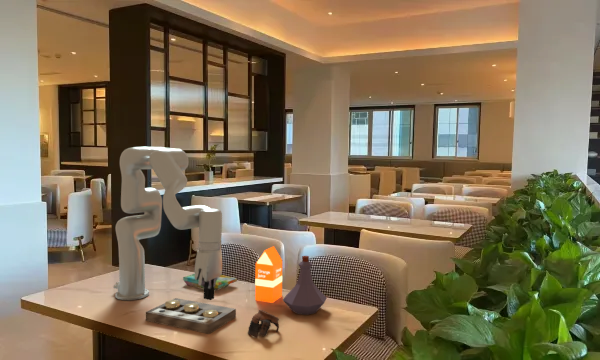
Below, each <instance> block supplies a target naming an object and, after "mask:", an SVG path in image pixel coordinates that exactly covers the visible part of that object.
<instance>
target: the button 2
mask: <svg viewBox="0 0 600 360" xmlns="http://www.w3.org/2000/svg"><path fill="white" fill-rule="evenodd" d="M216 316H218V311H217V310H206V311H204V312H203V317H208V318H215V317H216Z"/></svg>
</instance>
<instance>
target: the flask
mask: <svg viewBox="0 0 600 360" xmlns="http://www.w3.org/2000/svg"><path fill="white" fill-rule="evenodd" d="M309 259H310V256H309V255H302V256H301V261H300V262H299V263H298V267H299V268H300V270H299V276H298V279H297V281H296V284H295V285H294V287H292V289H291V290H289V291H288V293H287V294H286V295H285V297H283V298H282V301H283V302H284V303H285V305H286V306H287V307H288V308H289V309H290V310H291V311H292V312H294V313H295V314H297V315H306V316H308V315H312V314H316V313H317V312H318V311H319V310H320V309H321V308H322V306H323V305H324V304H325V302H326V300H327V296H326V295H325V294H324V293H323V292H322V290H320V289H319V288H318V287H317V286H316V285H315V283H314V281H313V280H314V279H313V276H312V274H311V272H312V271H311V268H312V265H313V263H312V262H311V261H309Z"/></svg>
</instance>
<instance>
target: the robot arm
mask: <svg viewBox="0 0 600 360" xmlns="http://www.w3.org/2000/svg"><path fill="white" fill-rule="evenodd" d="M189 164H190V163H189V156H188V155H187V153H186V152H185V151H184V150H183V149H181V148H172V147H164V146H133V147H128V148H125V149H124V150H123V151H122V152H121V154H120V157H119V169H120V174H121V189H120V190H121V191H120V193H121V195H120V207H121V210H122V212H124V213H126V214H136V215H130V216H125V217H122V218H120V219H119V220H118V221H117V222H116V224H115V234H116V235H115V236H116V239H117V245H118V263H119V264H118V270H119V271H118V273H119V274H118V275H119V276H118V277H119V279H118V281H117V282H116V283H115V284H114V285H113V286H112V287H113V288H114V289H116V290H117V291H116V293H115V294H114V295H115V298H116V299H117V300H121V301H134V300H135V301H137V300H141V299H143V298H146V297H148V296H149V295H150V290H149V289H147V288H146V273H145V272H146V271H145V270H146V269H145V267H146V265H145V260H146V259H145V249H144V247H143V245H142V244H141V242H140V240H143V239H150V238H154V237H156V236H158V235H159V234H160V231H161V227H162V212H164V213H165V215H166V217H167V219H168V220H169V222H170V224H171V225H172V226H173V227H174V228H175V229H177V230H180V231H181V230H188V229H189V230H190V229H194V228H195V229H196V228H198V246H197V247H198V249H197V252H196V257H195V262H194V263H195V264H194V274H195V280H199V282H198V285H200V286H203V288H204V289H203V299H205V300H207V301H211V300H213V299H215V291H214V287H215V285H216V280H217V279H218V278H219V277H220V275H223V274H222V273H223V254H222V231H223V227H222V226H223V213H222V210H221V209H217V208H213V207H212V208H211V207H209V206H207V205H204V204H203V205H202V204H198V205H189V206H181V204H180V203H179V201H178V200H177V197H176V194H178V193H179V192H182V191H183V189H185V187H186V186H187V185H188V178H187V176H186V175H185V174H184V172H183V171H186V169H187V168H188V167H189ZM142 170H153V172H154V173H155V176H156V177H157V178H158V180H159V182H160V184H161V186H162V188H163V189H164V192H163V197H162V194H161V193H160V190H159V189H157V188H155V187H146V177H145V174H144V173H143V171H142ZM162 210H163V211H162ZM138 213H144V214H139V215H138Z"/></svg>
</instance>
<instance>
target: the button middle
mask: <svg viewBox="0 0 600 360" xmlns="http://www.w3.org/2000/svg"><path fill="white" fill-rule="evenodd" d="M197 312H199V305H198V304H195V303H191V304H186V305H184V313H187V314H192V315H193V314H195V313H197Z"/></svg>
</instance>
